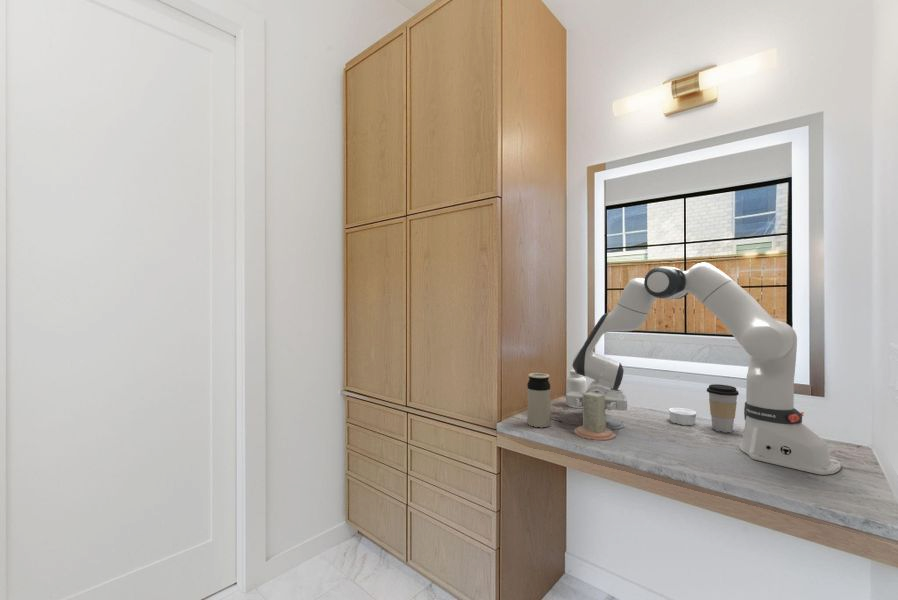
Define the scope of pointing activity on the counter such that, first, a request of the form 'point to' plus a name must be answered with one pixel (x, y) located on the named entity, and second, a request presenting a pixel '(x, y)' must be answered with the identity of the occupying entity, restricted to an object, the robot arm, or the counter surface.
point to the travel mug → (538, 400)
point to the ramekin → (682, 416)
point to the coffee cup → (722, 406)
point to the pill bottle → (576, 384)
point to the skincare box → (594, 412)
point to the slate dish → (613, 423)
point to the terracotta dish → (594, 434)
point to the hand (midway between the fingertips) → (594, 406)
